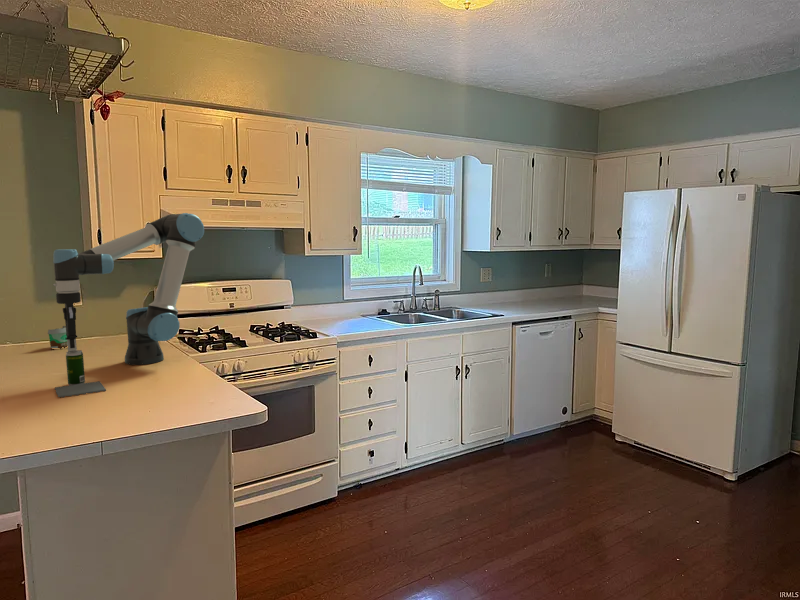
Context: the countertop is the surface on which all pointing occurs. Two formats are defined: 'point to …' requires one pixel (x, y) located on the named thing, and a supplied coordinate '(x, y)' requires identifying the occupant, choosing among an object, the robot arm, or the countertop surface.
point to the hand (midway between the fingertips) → (72, 356)
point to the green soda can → (75, 367)
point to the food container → (58, 337)
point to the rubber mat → (79, 389)
